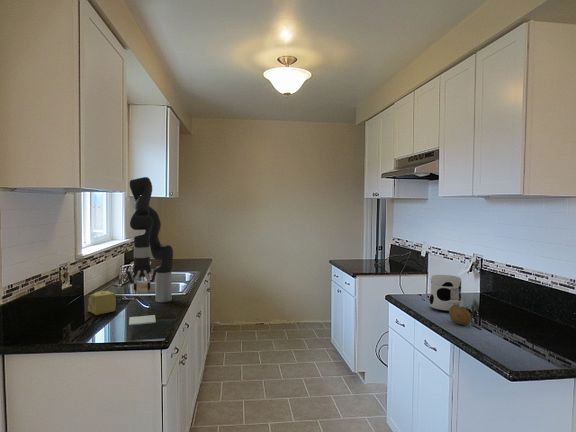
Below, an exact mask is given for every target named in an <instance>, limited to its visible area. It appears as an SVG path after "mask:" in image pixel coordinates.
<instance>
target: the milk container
mask: <svg viewBox="0 0 576 432" xmlns="http://www.w3.org/2000/svg"><path fill="white" fill-rule="evenodd" d="M428 305H429V306H430V308H431V309H433V310H436V311H439V312H444V313H449V309H450V308H451V307H452V306H460V307H462V308H463V305H464V303H463V297H462V278H461V277H460V276H455V275H449V274H435V275H431V277H430V294H429V297H428Z"/></svg>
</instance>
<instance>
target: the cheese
mask: <svg viewBox="0 0 576 432" xmlns="http://www.w3.org/2000/svg"><path fill="white" fill-rule="evenodd" d="M87 301H88V306H87V311H88V312H89V313H92V314H93V315H95V316H98V315H103V314H106V313H107V314H108V313H111V312H115V311H116V308H117V307H116V306H117V302H116V301H117V299H116V294H115V293H114V292H111V291H109V290H101V291H95V292H94V293H93V294H90V296H89V297H88V300H87Z"/></svg>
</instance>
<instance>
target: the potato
mask: <svg viewBox="0 0 576 432" xmlns="http://www.w3.org/2000/svg"><path fill="white" fill-rule="evenodd" d="M448 316H449V319H450V321H452V322H453V323H455V324H456V325H462V326H466V325H469V324H470V323H471V322H472V318H473V317H472V314H471V313H470V311H469V310H468V309H466V308H463V306H462V307H460V306H452V307H451V308H450V309H449V312H448Z"/></svg>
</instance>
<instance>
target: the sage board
mask: <svg viewBox="0 0 576 432" xmlns="http://www.w3.org/2000/svg"><path fill="white" fill-rule="evenodd" d="M128 320H129V322H128V325H129V326H138V325H146V324H147V325H149V324H156V323H157V321H156V315H155V314H152V315H143V316H131V317H130V316H129V319H128Z"/></svg>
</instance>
